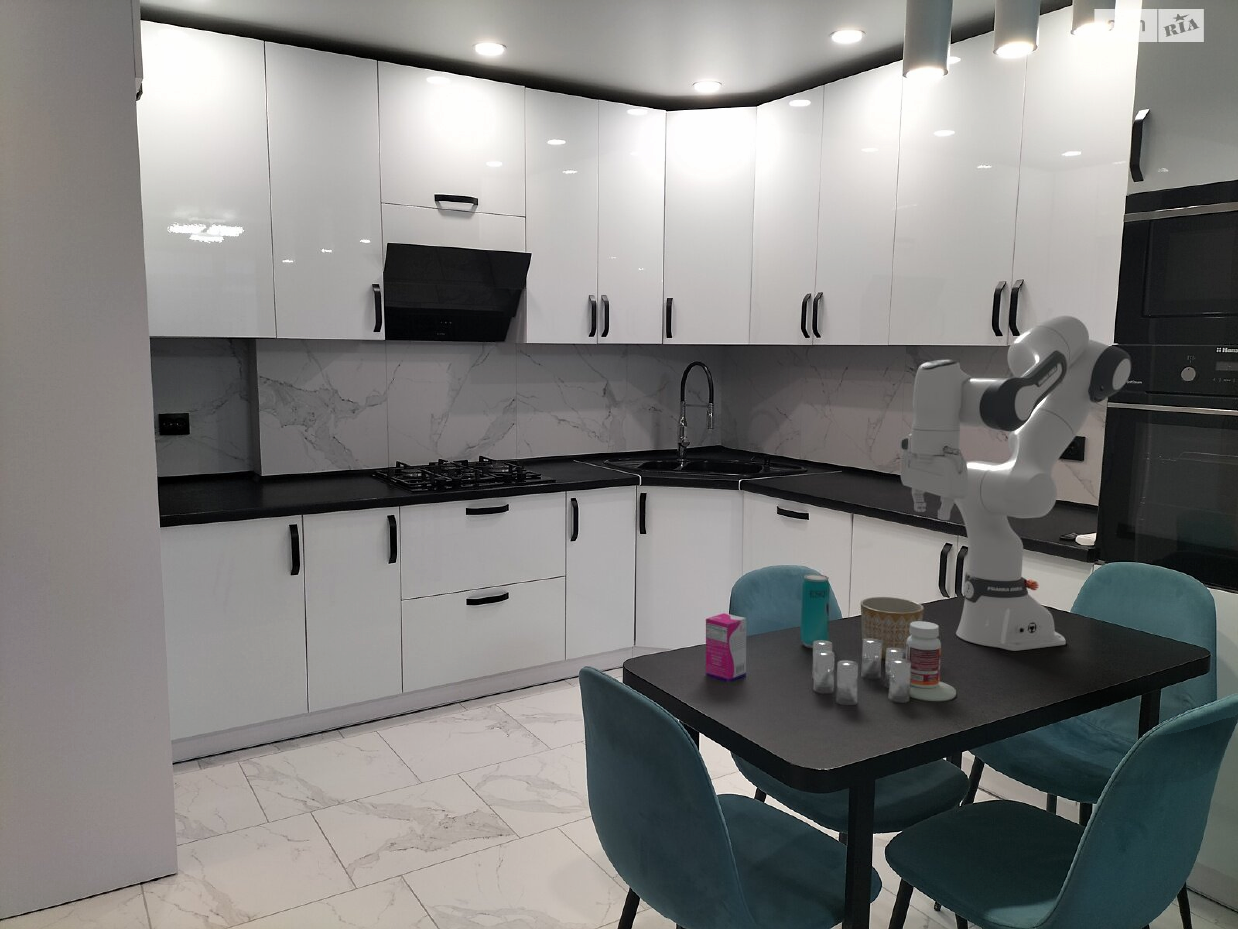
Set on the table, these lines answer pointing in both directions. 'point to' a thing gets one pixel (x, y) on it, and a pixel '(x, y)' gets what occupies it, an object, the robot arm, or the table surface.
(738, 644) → the supplement box
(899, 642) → the planter
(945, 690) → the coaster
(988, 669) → the table surface
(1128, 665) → the table surface
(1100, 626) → the table surface
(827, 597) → the beverage can
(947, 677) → the table surface
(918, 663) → the pill bottle
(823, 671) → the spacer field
